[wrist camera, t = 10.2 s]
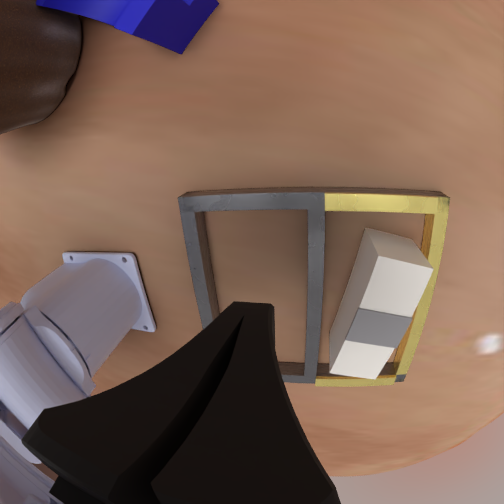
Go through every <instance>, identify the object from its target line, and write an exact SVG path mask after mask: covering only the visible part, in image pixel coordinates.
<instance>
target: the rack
mask: <svg viewBox="0 0 504 504" xmlns="http://www.w3.org/2000/svg"><path fill="white" fill-rule="evenodd" d="M449 201H450V197H448V196H446V195H445V194H443V193H442V192H436V191H422V190H406V189H385V188H354V187H281V188H248V189H227V190H209V191H194V192H186V193H185V194H183V195H181V196H180V197H178V202H179V208H180V214H181V220H182V226H183V232H184V238H185V244H186V249H187V255H188V260H189V265H190V270H191V275H192V280H193V285H194V290H195V295H196V300H197V304H198V309H199V313H200V318H201V322H202V327H203V329H204V328H206V327H207V326H208V325H209V324H210V323H211V322H212V321H213V320H214V319H215V318H217V317H218V316H219V315H220V313H219V308H218V302H217V296H216V290H215V284H214V278H213V272H212V266H211V259H210V253H209V246H208V240H207V233H206V226H205V219H204V212H203V211H229V210H276V209H308V300H307V331H306V353H305V363H288V362H278V364H279V368H280V372H281V375H282V379H283V382H291V383H314V384H315V386H335V387H344V386H380V385H394V382H402V381H404V379H405V376H406V374H407V371H408V369H409V366H410V364H411V361H412V358H413V356H414V353H415V350H416V347H417V345H418V342H419V339H420V336H421V333H422V330H423V326H424V323H425V320H426V317H427V313H428V310H429V306H430V303H431V299H432V295H433V291H434V287H435V283H436V279H437V275H438V270H439V265H440V260H441V255H442V250H443V244H444V239H445V232H446V226H447V218H448V210H449ZM325 211H370V212H402V213H425V214H426V216H425V225H424V232H423V240H422V246H421V252H422V253H423V255H424V256H425V257H426V259H427V260H428V262H429V263H430V264H431V266H432V267H433V272H432V274H431V277H430V279H429V281H428V283H427V286H426V288H425V290H424V292H423V294H422V297H421V299H420V301H419V303H418V305H417V307H416V309H415V311H414V313H413V315H412V321H411V323H410V325H409V327H408V329H407V331H406V332H405V334H404V336H403V338H402V340H401V341H400V343H399V346H398V350H397V353H396V356H395V359H394V362H393V363H386V364H385V365H384V367H383V368H382V370H381V372H380V373H379V375H378V376H377V378H376V379H367V378H359V377H352V376H345V375H338V374H332V373H329V364H317V362H318V352H319V341H320V328H321V314H322V297H323V277H324V244H325Z"/></svg>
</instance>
